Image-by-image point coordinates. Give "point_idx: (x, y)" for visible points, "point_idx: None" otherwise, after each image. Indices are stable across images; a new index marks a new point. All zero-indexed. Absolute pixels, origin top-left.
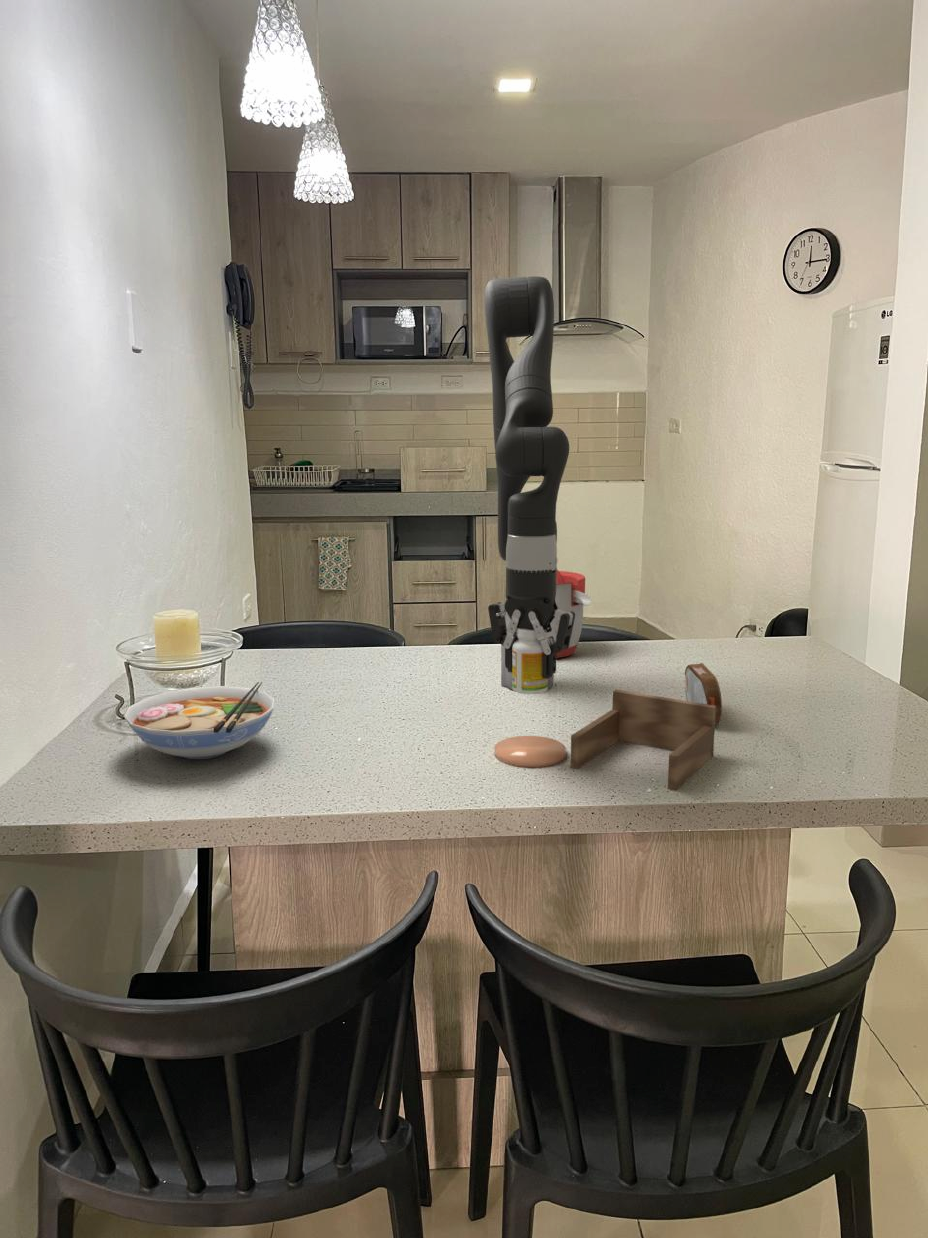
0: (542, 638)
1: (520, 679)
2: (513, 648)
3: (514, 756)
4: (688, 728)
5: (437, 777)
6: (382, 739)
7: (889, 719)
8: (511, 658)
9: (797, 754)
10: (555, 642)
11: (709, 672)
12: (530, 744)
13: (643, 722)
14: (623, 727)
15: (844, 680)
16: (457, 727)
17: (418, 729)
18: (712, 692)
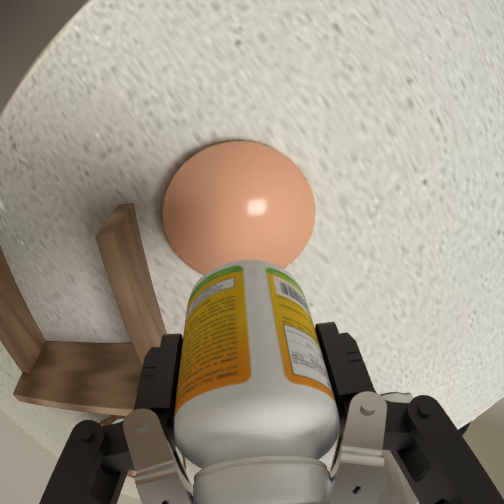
0: (146, 475)
1: (249, 288)
2: (318, 398)
3: (237, 158)
4: (50, 369)
5: (328, 4)
6: (498, 136)
7: (47, 447)
8: (329, 364)
9: (12, 378)
10: (94, 460)
11: (128, 474)
12: (249, 235)
13: (111, 370)
14: None
15: (129, 488)
16: (423, 250)
17: (472, 207)
18: None
